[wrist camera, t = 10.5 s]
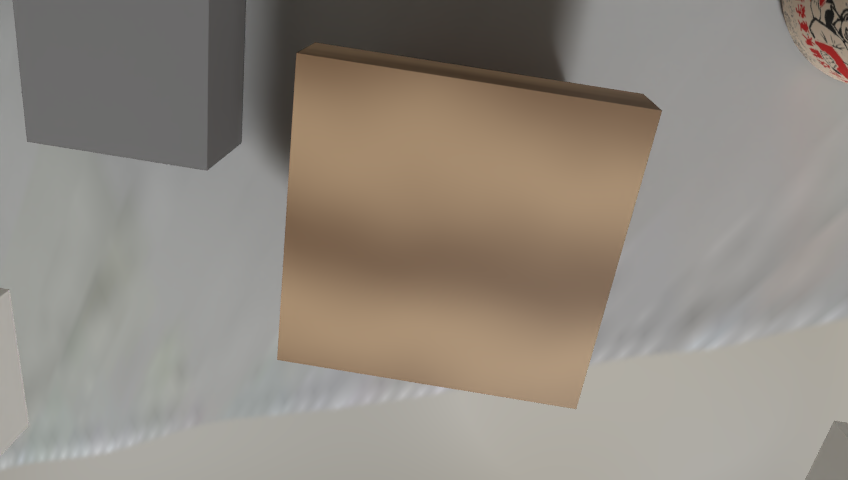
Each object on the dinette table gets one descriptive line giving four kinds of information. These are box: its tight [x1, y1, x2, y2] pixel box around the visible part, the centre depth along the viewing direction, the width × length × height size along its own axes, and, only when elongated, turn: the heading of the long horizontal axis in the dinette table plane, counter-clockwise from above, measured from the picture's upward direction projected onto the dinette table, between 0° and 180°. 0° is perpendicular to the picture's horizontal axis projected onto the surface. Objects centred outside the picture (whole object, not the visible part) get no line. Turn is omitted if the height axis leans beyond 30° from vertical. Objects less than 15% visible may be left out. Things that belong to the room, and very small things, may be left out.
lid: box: [277, 42, 662, 409], centre depth 23 cm, size 11×11×2 cm
